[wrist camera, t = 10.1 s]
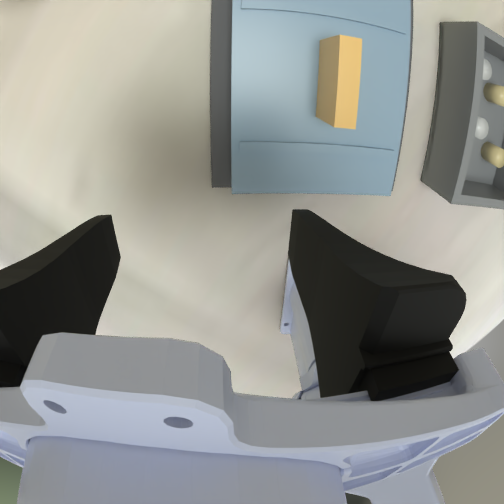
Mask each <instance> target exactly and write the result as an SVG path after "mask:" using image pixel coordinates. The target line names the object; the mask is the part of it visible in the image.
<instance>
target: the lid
mask: <svg viewBox="0 0 504 504" xmlns="http://www.w3.org/2000/svg"><path fill="white" fill-rule="evenodd" d="M410 33H411V0H232V39H231V185H232V194H251V193H316V194H356V195H381V196H391V191H392V186H393V181H394V176H395V171H396V165H397V160H398V154H399V148H400V141H401V135H402V128H403V121H404V113H405V104H406V95H407V85H408V73H409V58H410Z"/></svg>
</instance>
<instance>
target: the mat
mask: <svg viewBox="0 0 504 504" xmlns="http://www.w3.org/2000/svg"><path fill="white" fill-rule="evenodd" d="M231 39H232V0H212V13H211V66H210V113H211V170H212V188H214V187H232V185H231ZM412 39H413V0H411V33H410V58H409V73H408V85H407V95H406V104H405V113H404V121H403V128H402V135H401V141H400V148H399V154H398V160H397V165H396V171H397V166H398V161H399V155H400V150H401V144H402V137H403V131H404V124H405V117H406V110H407V101H408V93H409V83H410V72H411V58H412ZM396 171H395V176H396ZM395 176H394V181H395ZM394 181H393V186H394ZM393 186H392V191H393Z"/></svg>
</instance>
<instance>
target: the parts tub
mask: <svg viewBox="0 0 504 504" xmlns="http://www.w3.org/2000/svg"><path fill="white" fill-rule="evenodd" d="M421 181H422V182H423V183H425V184H426V185H427V186H429V187H430V188H431V189H433V190H434V191H435V192H437V193H438V194H439V195H440V196H442V197H443V198H444V199H446V200H447V201H448V202H449V203H451V204H458V205H469V206H478V207H488V208H497V209H504V38H503V37H502V36H500V35H498V34H497V33H495V32H494V31H492V30H490V29H489V28H487V27H485V26H484V25H482V24H480V23H479V22H443V23H440V45H439V63H438V75H437V86H436V95H435V103H434V111H433V118H432V124H431V130H430V136H429V142H428V147H427V153H426V158H425V163H424V168H423V172H422V177H421Z"/></svg>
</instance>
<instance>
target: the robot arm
mask: <svg viewBox="0 0 504 504" xmlns="http://www.w3.org/2000/svg"><path fill="white" fill-rule="evenodd" d="M288 256H289V259H288V267H287V276H286V284H285V292H284V301H283V309H282V316H281V324H280V332H281V333H282V334H291V338H292V343H293V348H294V352H295V357H296V361H297V366H298V371H299V375H300V383H301V387H302V391H300V392H298V393H296V394H295V395H294V396H293V398H292V399H290V398H278V397H268V396H258V395H250V394H242V393H235V392H233V389H232V384H231V371H230V369H229V367H228V366H227V364H226V362H225V360H224V358H223V356H221V355H219V354H217V353H215V352H214V351H212V350H210V349H208V348H206V347H205V346H203V345H201V344H199V343H197V342H191V341H185V340H179V339H174V338H145V337H120V336H102V335H95V334H96V329H97V326H98V322H99V319H100V316H101V314H102V311H103V308H104V306H105V303H106V301H107V298H108V296H109V293H110V291H111V288H112V286H113V283H114V280H115V278H116V274H117V271H118V267H119V262H120V258H121V256H120V252H119V248H118V244H117V240H116V235H115V231H114V226H113V221H112V216H111V215H98V216H96V217H93V218H91V219H89V220H88V221H86V222H84V223H83V224H81V225H79V226H78V227H76V228H75V229H73V230H72V231H70V232H69V233H67V234H66V235H64V236H62V237H61V238H59V239H58V240H56V241H54V242H53V243H51V244H50V245H48V246H47V247H45V248H43V249H42V250H40V251H38V252H36V253H35V254H33V255H31V256H29V257H27V258H25V259H23V260H21V261H19V262H17V263H15V264H12V265H10V266H8V267H6V268H4V269H1V270H0V457H2V458H4V459H6V460H8V461H10V462H12V463H14V464H16V465H18V466H21V467H23V471H22V476H21V481H20V487H19V493H18V499H17V504H347V502H346V497H345V492H346V493H351V494H355V495H360V496H363V497H367V498H369V499H370V501H371V503H372V504H446V503H445V501H444V498H443V495H442V492H441V490H440V487H439V485H438V482H437V480H436V478H435V475H434V473H433V470H432V467H433V465H434V464H435V462H436V461H437V459H438V457H440V456H442V455H444V454H446V453H448V452H450V451H452V450H454V449H456V448H458V447H460V446H462V445H464V444H466V443H468V442H470V441H472V440H473V439H475V438H476V437H477V436H479V435H480V434H481V433H482V432H483V431H484V430H486V429H487V428H488V427H489V426H491V425H492V424H493V423H494V422H495V421H496V420H497V419H499V418H500V417H501V416H502V415H503V414H504V382H503V381H502V379H501V377H500V375H499V373H498V372H497V370H496V368H495V366H494V365H493V363H492V361H491V360H490V358H489V356H488V355H487V353H486V351H485V350H484V348H478V349H475V350H472V351H468V352H465V353H462V354H460V355H458V356H457V357H455V358H454V359H453V358H452V356H451V354H450V352H449V351H451V350H452V348H453V345H452V343H451V342H450V340H449V337H450V335H451V333H452V332H453V330H454V328H455V327H456V325H457V323H458V322H459V320H460V318H461V316H462V314H463V312H464V309H465V305H466V293H465V292H464V290H463V289H462V288H461V286H460V285H459V284H458V282H457V281H456V280H455V279H454V277H453V276H452V275H448V274H444V273H439V272H435V271H430V270H426V269H422V268H419V267H416V266H413V265H409V264H406V263H404V262H401V261H398V260H396V259H393V258H391V257H388V256H386V255H383V254H381V253H379V252H377V251H375V250H373V249H371V248H369V247H367V246H365V245H363V244H361V243H359V242H358V241H356V240H354V239H353V238H351V237H349V236H348V235H346V234H344V233H343V232H341V231H340V230H338V229H337V228H335V227H334V226H332V225H331V224H329V223H328V222H327V221H325V220H324V219H322V218H321V217H319V216H318V215H316V214H315V213H313V212H312V211H310V210H293V211H292V221H291V231H290V241H289V250H288Z"/></svg>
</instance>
